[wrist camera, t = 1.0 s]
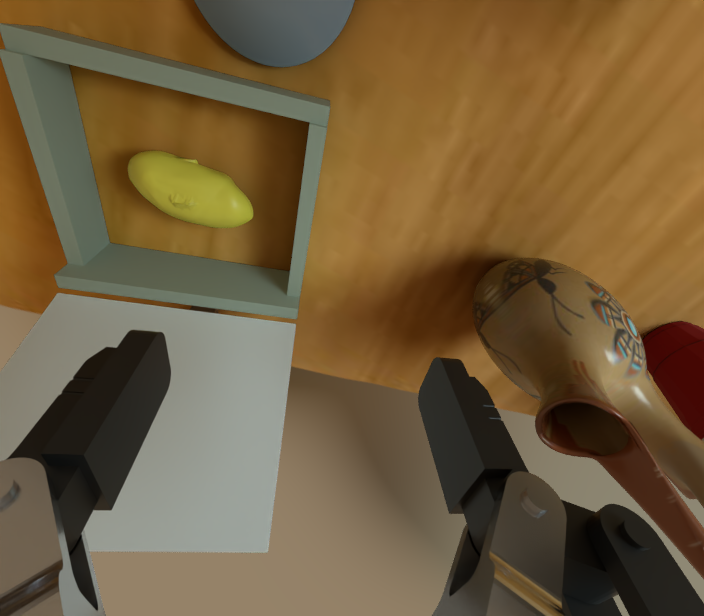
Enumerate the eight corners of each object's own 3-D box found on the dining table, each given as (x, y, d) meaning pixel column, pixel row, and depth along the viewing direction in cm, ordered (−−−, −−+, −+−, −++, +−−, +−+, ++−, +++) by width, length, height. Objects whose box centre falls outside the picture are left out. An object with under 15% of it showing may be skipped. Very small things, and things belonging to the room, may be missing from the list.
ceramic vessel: (412, 282, 30) (577, 731, 10) (484, 196, 25) (1025, 699, 6) (532, 344, 36) (784, 706, 16) (608, 283, 31) (1086, 680, 12)
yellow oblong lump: (147, 124, 21) (116, 136, 18) (266, 185, 24) (257, 205, 21) (135, 182, 23) (107, 202, 20) (246, 232, 26) (235, 257, 23)
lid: (-129, 549, 14) (-113, 550, 14) (267, 551, 17) (267, 552, 17) (57, 293, 22) (63, 300, 23) (296, 324, 25) (295, 329, 26)
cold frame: (40, 26, 18) (-39, 20, 14) (330, 100, 21) (330, 112, 17) (98, 252, 26) (58, 287, 22) (300, 282, 29) (296, 319, 25)
